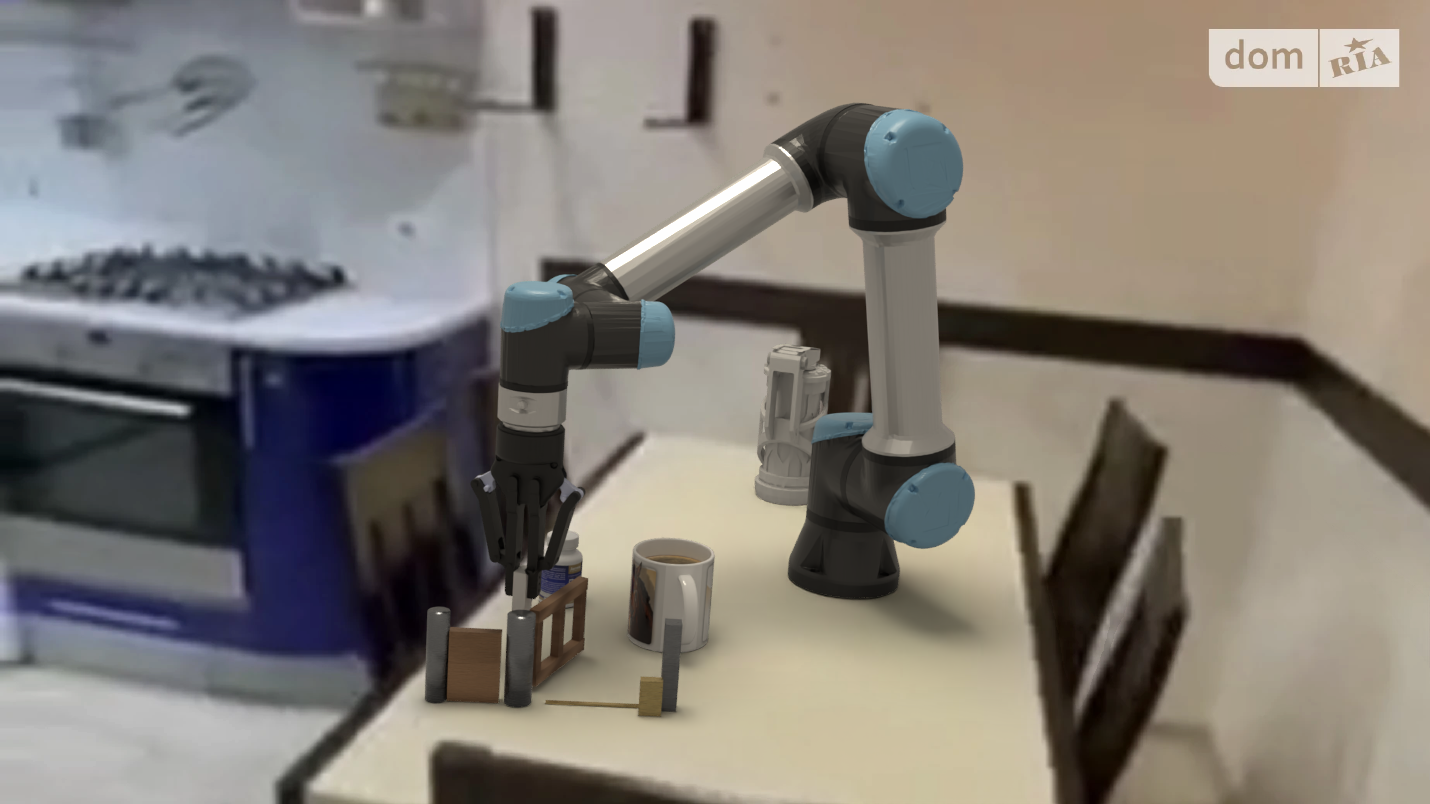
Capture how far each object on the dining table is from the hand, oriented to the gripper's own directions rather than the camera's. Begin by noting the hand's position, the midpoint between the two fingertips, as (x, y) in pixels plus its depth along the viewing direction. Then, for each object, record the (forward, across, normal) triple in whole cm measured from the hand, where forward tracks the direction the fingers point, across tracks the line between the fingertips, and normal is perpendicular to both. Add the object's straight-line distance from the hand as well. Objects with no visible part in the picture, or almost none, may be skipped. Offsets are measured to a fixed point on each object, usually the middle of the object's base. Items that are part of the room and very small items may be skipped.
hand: (521, 622), depth 180 cm
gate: (+4, +5, -2) cm, 6 cm away
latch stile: (+5, +18, -7) cm, 20 cm away
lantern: (+5, +19, +75) cm, 78 cm away
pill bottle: (+5, -1, +19) cm, 20 cm away
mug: (+5, +15, +12) cm, 20 cm away
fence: (+5, +6, -10) cm, 12 cm away
